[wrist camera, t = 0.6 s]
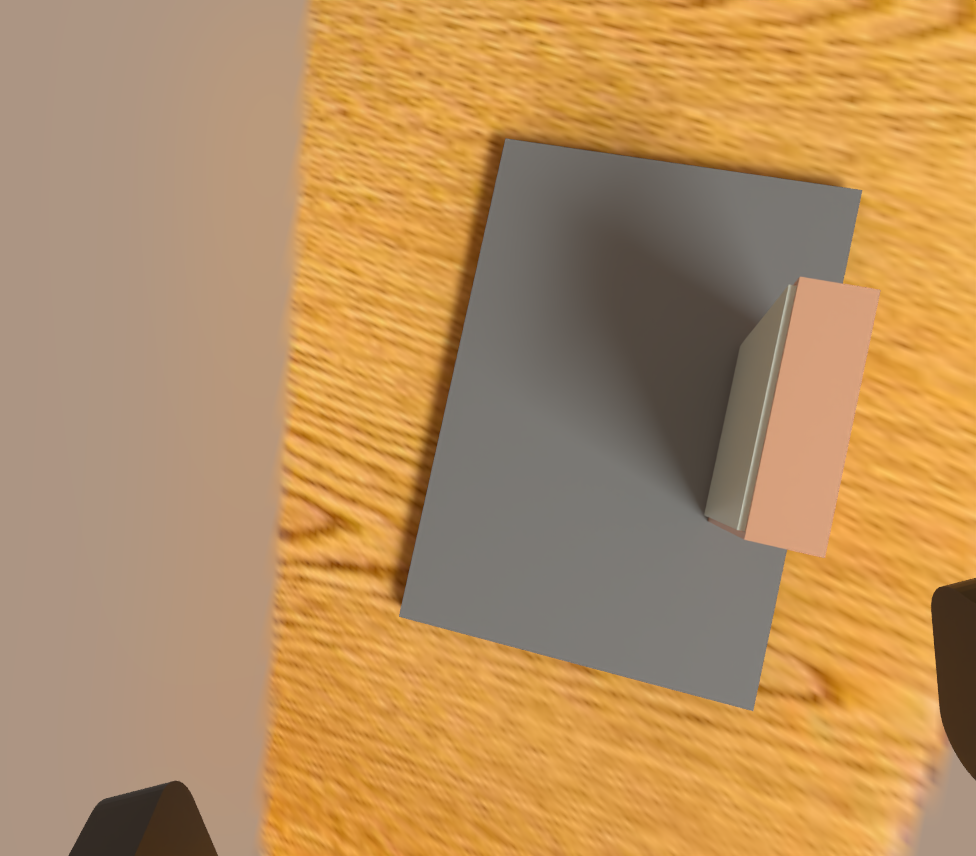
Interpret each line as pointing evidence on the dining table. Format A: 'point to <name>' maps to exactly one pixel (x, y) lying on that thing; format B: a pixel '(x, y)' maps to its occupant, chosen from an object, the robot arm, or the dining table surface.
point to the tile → (792, 416)
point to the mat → (613, 415)
